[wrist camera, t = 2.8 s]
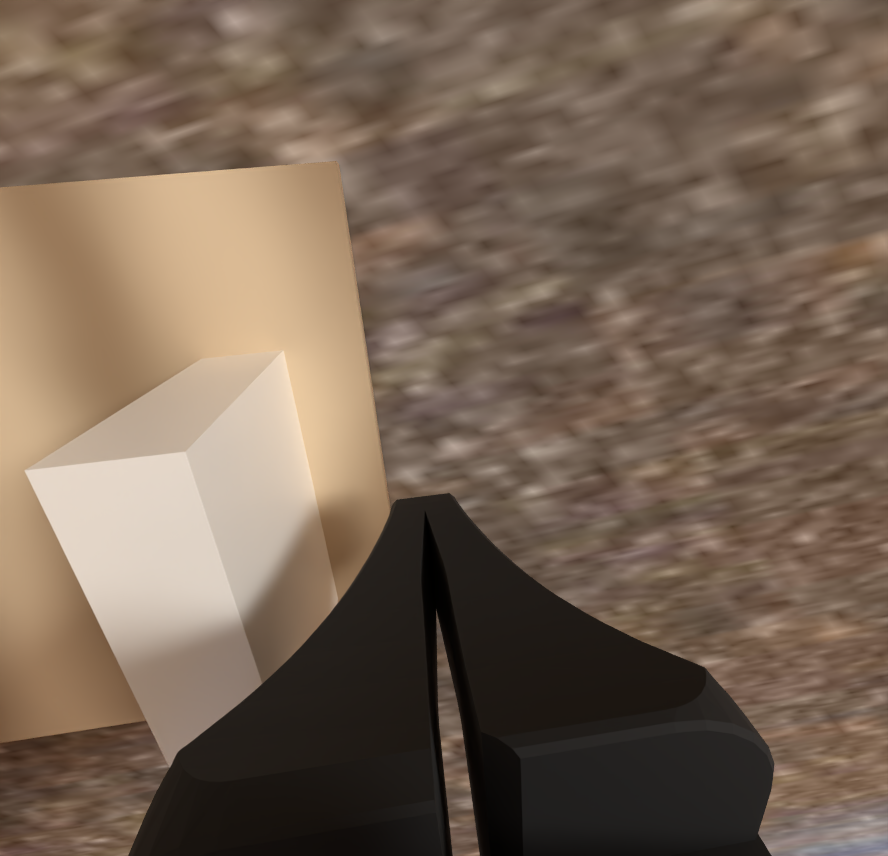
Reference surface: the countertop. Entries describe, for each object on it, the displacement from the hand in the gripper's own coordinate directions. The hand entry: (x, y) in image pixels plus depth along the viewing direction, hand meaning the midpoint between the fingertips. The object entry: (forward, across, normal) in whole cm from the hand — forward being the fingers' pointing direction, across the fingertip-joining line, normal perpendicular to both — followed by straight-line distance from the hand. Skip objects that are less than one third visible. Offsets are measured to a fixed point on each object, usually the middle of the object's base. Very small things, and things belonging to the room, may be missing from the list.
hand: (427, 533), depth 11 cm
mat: (+3, +8, 0) cm, 9 cm away
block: (+3, +4, 0) cm, 5 cm away
